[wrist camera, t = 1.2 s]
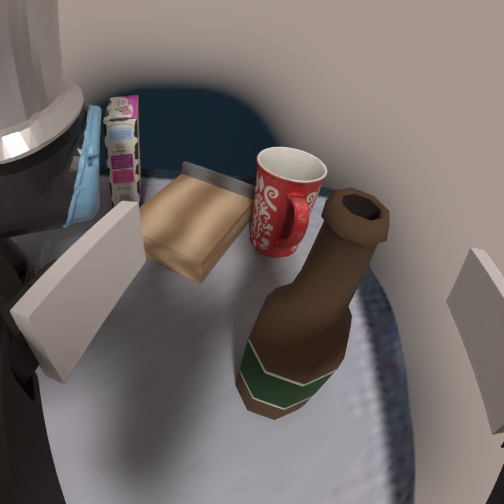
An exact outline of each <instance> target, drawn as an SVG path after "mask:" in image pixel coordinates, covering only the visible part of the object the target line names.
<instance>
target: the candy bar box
mask: <svg viewBox="0 0 504 504" xmlns="http://www.w3.org/2000/svg"><path fill="white" fill-rule="evenodd" d="M103 124H104V137H105V147H106V158H107V168H108V177H109V185H110V193H111V200H112V207H113V208H114V207H115V206H116V205H118V204H119V203H120V202H121V201H130V202H139V208H140V207H141V206H142V199H141V171H140V145H139V111H138V95H135V96H122V97H113V98H110V101H109V104H108V107H107V110H106V113H105V117H104V120H103Z"/></svg>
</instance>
